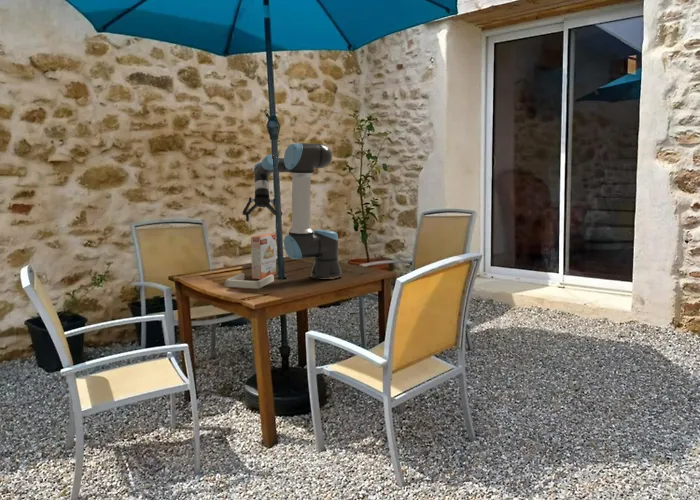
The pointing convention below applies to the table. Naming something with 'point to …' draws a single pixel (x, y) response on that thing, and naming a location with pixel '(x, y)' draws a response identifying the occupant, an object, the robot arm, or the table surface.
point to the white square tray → (247, 282)
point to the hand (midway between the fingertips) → (262, 227)
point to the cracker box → (263, 255)
